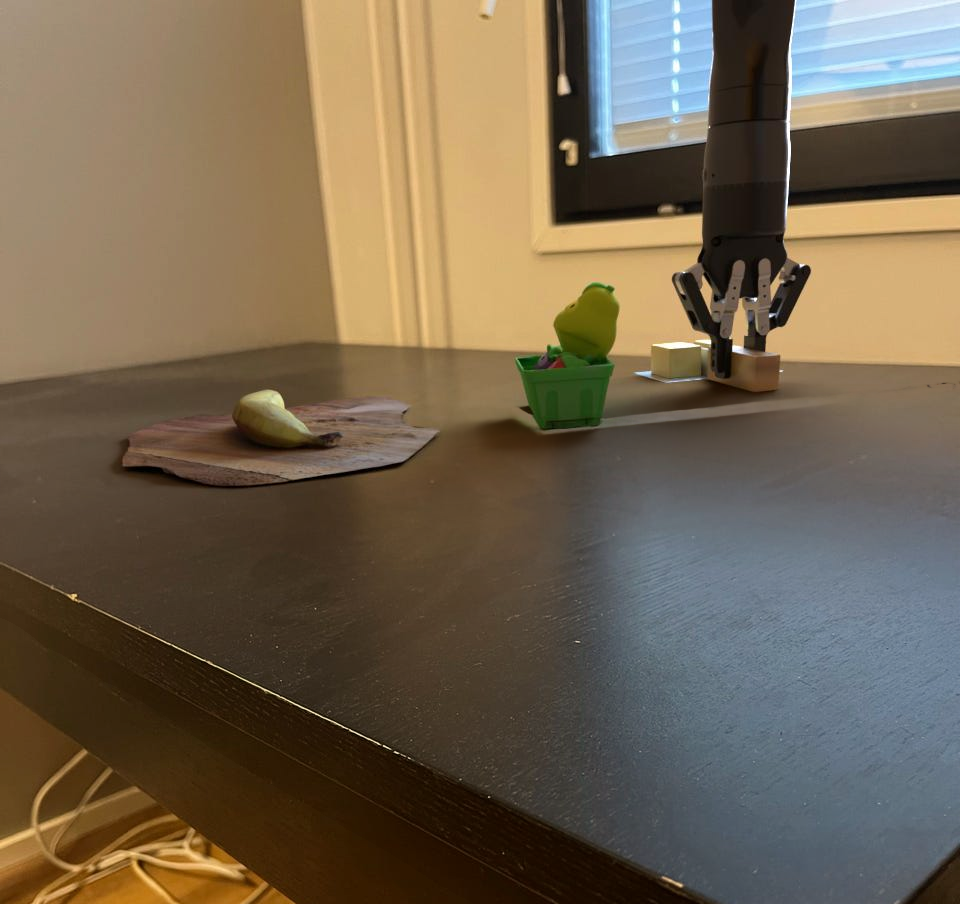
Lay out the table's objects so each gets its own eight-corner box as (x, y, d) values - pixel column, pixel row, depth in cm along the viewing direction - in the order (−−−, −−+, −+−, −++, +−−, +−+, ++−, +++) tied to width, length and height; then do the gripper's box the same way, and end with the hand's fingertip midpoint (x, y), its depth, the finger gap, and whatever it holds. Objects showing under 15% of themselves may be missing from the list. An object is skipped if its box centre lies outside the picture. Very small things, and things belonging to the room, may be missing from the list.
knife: (778, 390, 91) (780, 354, 89) (754, 392, 90) (756, 356, 89) (687, 365, 109) (688, 335, 108) (667, 367, 108) (667, 337, 107)
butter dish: (742, 369, 110) (742, 362, 110) (783, 378, 102) (783, 370, 101) (633, 380, 107) (632, 372, 107) (665, 390, 99) (665, 382, 99)
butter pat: (706, 368, 107) (706, 339, 106) (726, 373, 102) (727, 343, 101) (693, 369, 107) (693, 340, 105) (713, 374, 102) (714, 344, 101)
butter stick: (681, 370, 106) (681, 341, 105) (701, 375, 102) (701, 345, 101) (650, 373, 106) (650, 344, 104) (669, 378, 101) (669, 348, 100)
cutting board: (129, 427, 99) (122, 388, 97) (395, 399, 105) (392, 362, 104) (110, 504, 67) (98, 448, 66) (490, 457, 74) (487, 405, 72)
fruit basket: (515, 412, 92) (510, 285, 88) (609, 405, 93) (608, 278, 88) (525, 433, 82) (519, 290, 78) (631, 426, 82) (631, 283, 78)
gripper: (691, 181, 84) (686, 387, 91) (837, 174, 87) (822, 375, 94) (657, 187, 91) (655, 378, 98) (793, 180, 94) (782, 367, 100)
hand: (737, 375), depth 96 cm, fingers closed on knife, 2 cm apart
